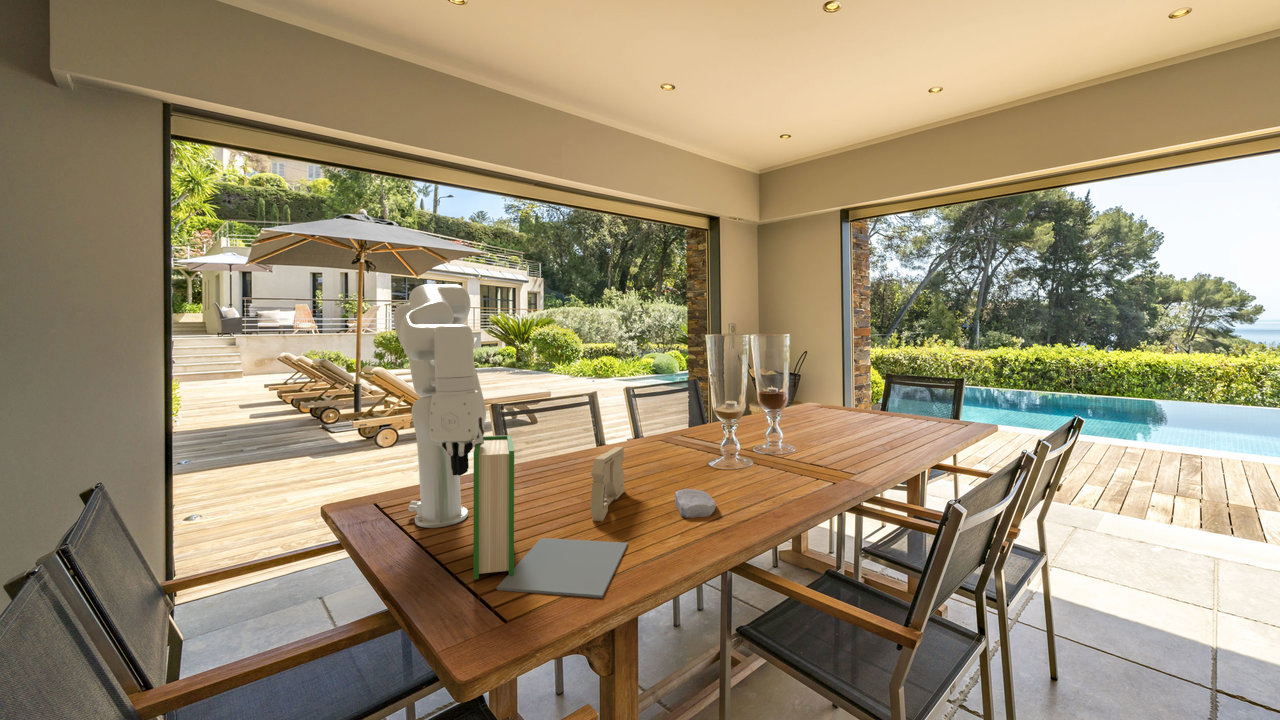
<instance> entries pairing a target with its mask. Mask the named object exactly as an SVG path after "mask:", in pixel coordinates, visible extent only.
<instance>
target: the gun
mask: <svg viewBox="0 0 1280 720" xmlns="http://www.w3.org/2000/svg"><path fill="white" fill-rule="evenodd" d="M624 450H625V449H624V446H614V447H613V448H611V449H610V450H608V451H606V452H604V453H602V454H600V455H599V456H597V457H595V458H594V459H593V465H592V469H591V474H590V475H591V477H592V484H591V495H590V513H591V519H592V522H604V520H605V518H606V516H607V514H608V511H609V509H608V507H609V505H610V504H612V502H614V501H617V500H618V499H619V498H620V497H621V496H622V495H623V494H624V493H625V491H626V490H625V488H626V487H625V484H624V483H625V482H624V481H625V480H624V477H625V476H624V475H625V471H624V470H623V462H624V457H625V455H624V453H625V452H624Z"/></svg>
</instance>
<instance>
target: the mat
mask: <svg viewBox="0 0 1280 720" xmlns="http://www.w3.org/2000/svg"><path fill="white" fill-rule="evenodd" d="M628 546H629V544H628V542H624V541H623V542H620V541H619V542H618V541H603V540H588V539H587V540H584V539H571V538H570V539H568V538H549V537H547V538H546V537H540V538H539V539H538V541H537V542H536V543H535V544H534V545H533V546H532V547H531V548H530V549H529V550H528V551H527V553H526V554H525V555H524V556H523V557H522V559H521V560H520V561H519V562H518V563H516V565H514V575H509V573H508V574H507V576H505V577H504V578H503V579H502V581H501V582H500V583H499V584H498V585H497V586H496V590H497V591H506V592H518V593H520V592H521V593H532V594H542V595H543V594H545V595H546V594H547V595H557V596H558V595H559V596H567V597H568V596H569V597H570V596H571V597H583V598H585V597H586V598H594V599H603V598H604V596H605V593H606V591H607V589H608V587H609V585H610V583H611V581H612V578H613V577H614V575H615V572H616V570H617V568H618V566H619V564H620V561H621V560H622V558H623V555H624V554H625V551H626V550H627V548H628Z"/></svg>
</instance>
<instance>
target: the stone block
mask: <svg viewBox="0 0 1280 720" xmlns="http://www.w3.org/2000/svg"><path fill="white" fill-rule="evenodd" d="M674 497H675V498H674V500H675V501H674V502H675V505H676V508H677V510H678V512H679V514H680V516H681V517H682V518H684V519H688V518H689V519H692V518H709V517H711V515H712V514H713V513H714V512H715V509H716V501H715V499H714V498H712V496H711V495H710V494H709V493H708V492H707V491H704V490H700V489H694V488H684V489H679V490H676V491H675V493H674Z"/></svg>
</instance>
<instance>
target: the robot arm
mask: <svg viewBox="0 0 1280 720" xmlns="http://www.w3.org/2000/svg"><path fill="white" fill-rule="evenodd" d="M470 310H471V297H470V294H469V292H468V291H467V289H466V288H465V287H464V286H462V285H459V284H436V283H435V284H433V283H432V284H431V283H430V284H421V285H417V286H416V287H414V288H413V289H412V290H411V291H410V293H409V296H408V302H407V303H404V304H400V305H399V306H397V307H396V308H395V309H394V312H393V323H394V324H393V325H394V331H395V332H396V333H395V334H396V336H397V338H398V341H399V343H400V345H401V347H402V349H403V352H404V354H405V355H406V357H408V362H409V368H410V374H411V381H412V384H413V388H414V391H415V393H416V395H418V396H419V398H418V399H417V400H415V401H414V402H413V404H412V406H411V419H412V423H413V428H414V433H415V436H416V447H417V460H418V477H419V478H418V479H419V481H418V482H419V494H420V495H419V496H420V500H411V501H409V506H408V508H407V511H409V512H416V513H417V514H416V515H415V517H414V524H415V525H416V526H417V527H421V528H424V529H425V528H428V529H433V528H434V529H435V528H437V529H438V528H442V527H449V526H452V525H455V524H458V523H461V522H463V521H465V520H466V518H467V517H468V516H469V510H468V508H466V507H464V506H462V495H461V493H462V492H461V476H463V475H465V474H466V473H468V470H469V468H470V466H469V454H470V453H471V451H472V449H473V450H474V448H475V444H480V446H481V445H483V444H484V440H483V436H485V423H486V419H487V409H486V403H485V400H484V396H483V395H484V394H483V391H482V387H481V383H480V379H479V376H478V373H477V369H476V367H475V358H474V357H475V354H474V348H475V339H474V338H475V336H474V333H473V330H472V328H471V326H469V325H468V324H467V325H466V324H465V322H466V320H467V319H468V317H469V313H470Z"/></svg>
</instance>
